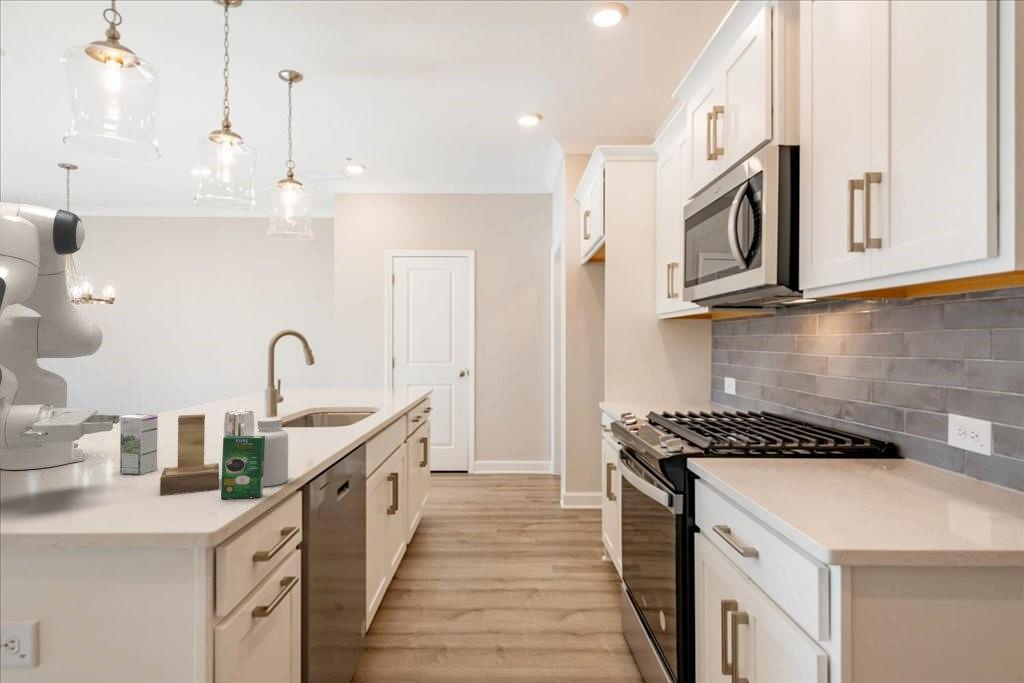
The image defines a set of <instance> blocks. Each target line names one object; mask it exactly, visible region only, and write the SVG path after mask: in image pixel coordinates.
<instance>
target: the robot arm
mask: <svg viewBox="0 0 1024 683" xmlns="http://www.w3.org/2000/svg"><path fill="white" fill-rule="evenodd" d="M85 237H86V231H85V227H84V225H83V222H82V219H81V218H80V217H79V216H78V215H77V214H75V213H74V212H71V211H67V210H64V209H60V208H59V209H54V208H49V207H45V206H41V205H34V204H30V203H16V202H6V201H5V202H4V201H0V470H5V471H6V470H7V471H9V470H11V471H15V470H16V471H17V470H20V471H21V470H33V469H35V470H36V469H44V468H52V467H58V466H62V465H65V464H66V465H67V464H71V463H77V462H82V461H85V458H84V451H83V449H82V448H78V447H79V446H78V443H77V442H75V441H78V440H80V439H81V438H82V437H83V436H85V435H90V434H91V435H92V434H96V433H101V432H111V431H112V430H113V428H114V425H117V424H120V420H121V416H120V415H119V414H106V413H105V414H104V413H103V414H102V413H98V410H97V409H94V408H85V407H84V408H81V407H80V408H79V407H78V408H76V407H67V405H68V383H67V381H66V380H65V378H64V377H62V376H61V375H60V374H57V373H55V372H53V371H50V370H47V369H44V368H42V367H40V366H39V364H38V361H37V360H38V359H74V358H81V357H87V356H93V355H94V354H96V352H98V351H99V350H100V348H101V347H102V343H103V338H104V336H103V332H102V330H101V328H100V326H99V325H98V324H97V323H96V322H95V321H93V320H91V319H90V318H88V317H86V316H85V315H83V314H82V313H81V312H80V311H78V309H77V308H76V307H75V306H74V304H73V302H72V301H71V298H70V297H69V292H68V288H67V276H66V262H65V261H66V260H65V255H73V254H74V253H76V252H78V251H80V249H81V247H82V245H83V244H84V241H85ZM13 305H20V306H22V307H25V308H28V309H29V310H32V311H34V312H36V313H37V314H38V315H39V316H31V315H30V316H26V315H25V316H24V315H23V316H21V315H4V316H2V314H3V312H4V310H5V309H6V308H7V307H8V306H13Z"/></svg>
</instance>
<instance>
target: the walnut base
mask: <svg viewBox="0 0 1024 683" xmlns="http://www.w3.org/2000/svg"><path fill="white" fill-rule="evenodd" d="M177 468H178V466H171V467H164V468H163V470H162V472H161V475H160V478H159V479H160V481H159V488H160V489H159V496H166V495H165V494H170V495H176V494H175V493H179V494H187V493H186V492H188V493H195V491H198V492H205V491H204V490H207V491H214V490H213V489H216V490H219V488H220V463H215V462H214V463H204V470H200V471H189V472H178V473H177Z"/></svg>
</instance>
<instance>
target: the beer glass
mask: <svg viewBox="0 0 1024 683" xmlns="http://www.w3.org/2000/svg"><path fill="white" fill-rule="evenodd" d="M254 413H255V412H254V411H253V410H233V411H227V412H224V420H223V438H224V437H225V436H252V435H253V434H254V433H255V415H254Z"/></svg>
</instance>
